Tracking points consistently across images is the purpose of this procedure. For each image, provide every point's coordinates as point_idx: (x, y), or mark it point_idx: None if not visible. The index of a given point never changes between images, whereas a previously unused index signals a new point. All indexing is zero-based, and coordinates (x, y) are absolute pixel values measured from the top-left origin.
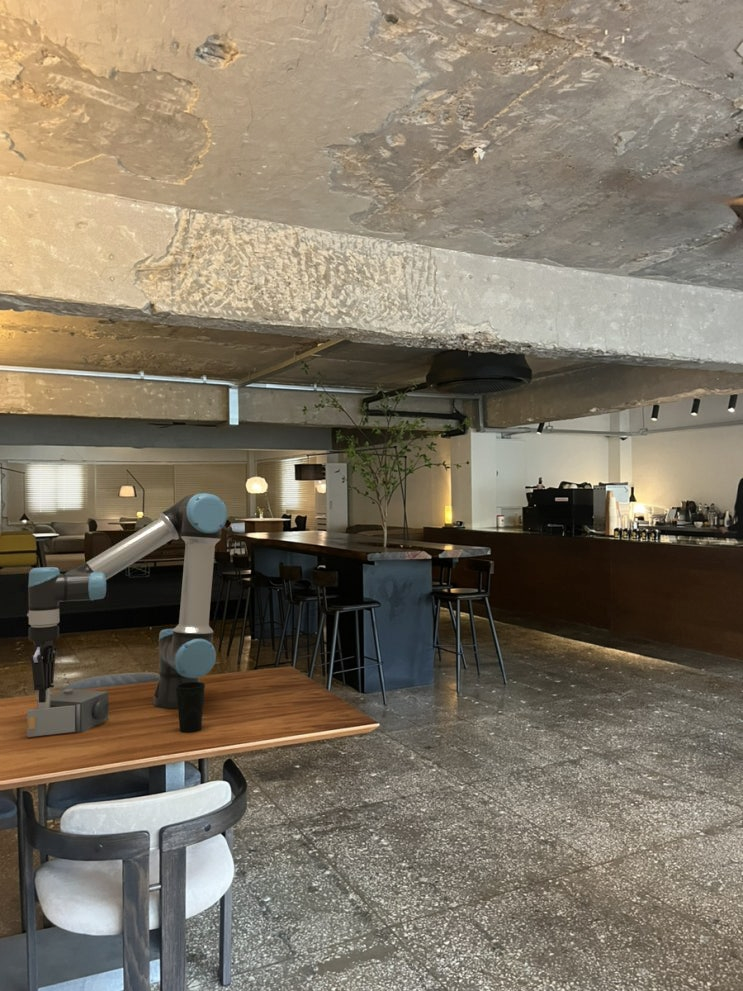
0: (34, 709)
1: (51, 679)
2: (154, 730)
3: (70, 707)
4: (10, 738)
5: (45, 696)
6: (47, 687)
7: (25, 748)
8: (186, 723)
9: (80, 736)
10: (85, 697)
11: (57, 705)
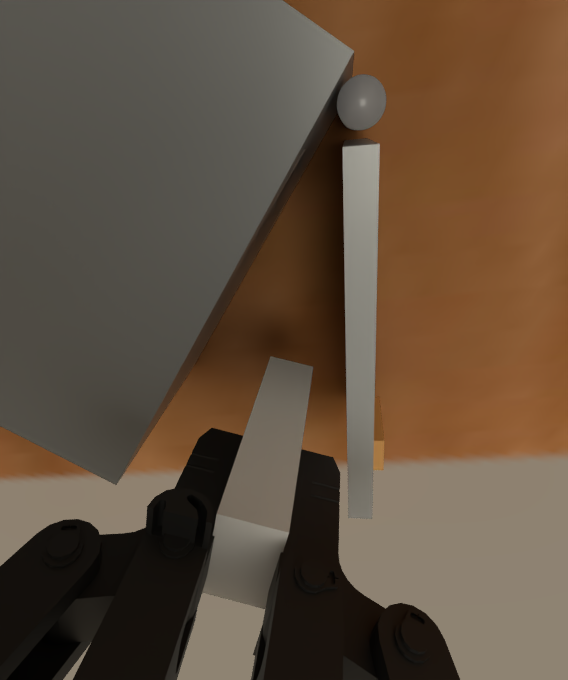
0: (351, 481)
1: (69, 597)
2: None
3: (377, 196)
4: None
5: (298, 488)
6: (309, 570)
7: (551, 392)
8: None
9: (462, 84)
10: (81, 29)
11: (206, 327)
